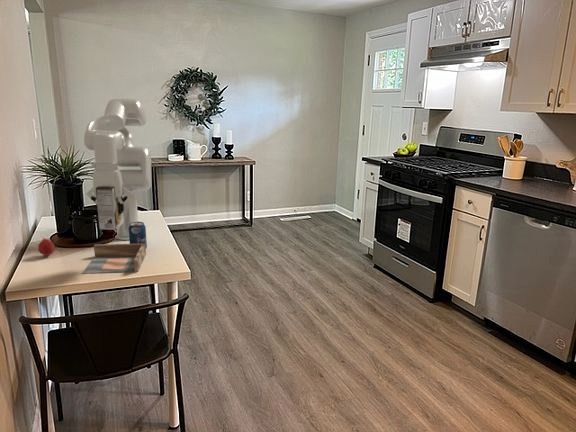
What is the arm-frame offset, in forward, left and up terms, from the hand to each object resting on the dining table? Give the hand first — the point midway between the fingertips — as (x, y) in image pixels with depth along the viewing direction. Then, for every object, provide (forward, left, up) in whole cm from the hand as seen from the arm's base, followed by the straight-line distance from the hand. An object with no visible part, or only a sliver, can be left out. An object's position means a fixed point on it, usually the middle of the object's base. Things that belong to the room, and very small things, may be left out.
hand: (110, 212), depth 162 cm
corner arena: (-1, 0, -21) cm, 21 cm away
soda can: (-16, +6, -22) cm, 27 cm away
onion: (-11, -29, -22) cm, 38 cm away
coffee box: (0, 0, -6) cm, 6 cm away
